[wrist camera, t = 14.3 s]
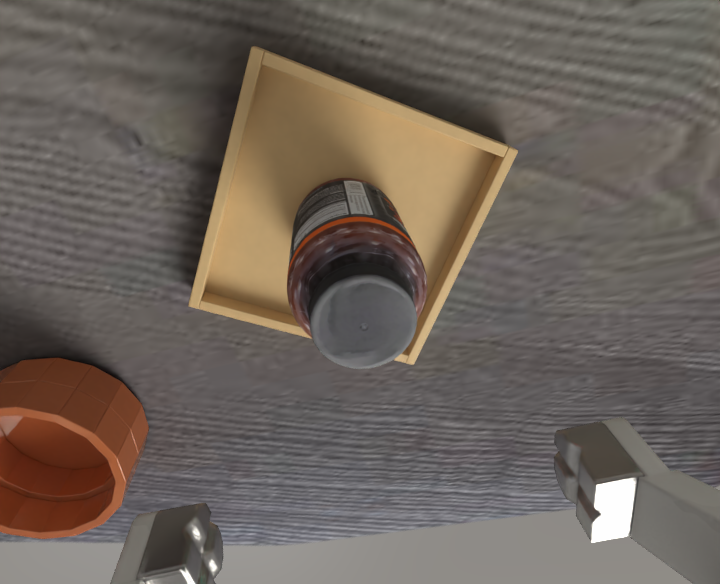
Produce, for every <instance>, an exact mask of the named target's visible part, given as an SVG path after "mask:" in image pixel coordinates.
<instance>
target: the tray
mask: <svg viewBox="0 0 720 584" xmlns="http://www.w3.org/2000/svg"><path fill="white" fill-rule="evenodd" d="M517 153H518V150H516V149H514V148H513V147H511V146H509V145H507V144H504V143H502V142H499V141H497V140H494V139H491V138H489V137H486V136H484V135H481V134H479V133H476V132H474V131H471V130H469V129H466V128H463V127H461V126H458V125H456V124H453V123H451V122H448V121H446V120H443V119H441V118H438V117H435V116H433V115H430V114H428V113H425V112H423V111H420V110H418V109H415V108H413V107H410V106H407V105H405V104H402V103H400V102H397V101H395V100H392V99H390V98H387V97H385V96H382V95H379V94H377V93H374V92H372V91H369V90H367V89H364V88H362V87H359V86H357V85H354V84H351V83H349V82H346V81H344V80H341V79H339V78H336V77H334V76H331V75H328V74H326V73H323V72H321V71H318V70H316V69H313V68H311V67H308V66H306V65H303V64H300V63H298V62H295V61H293V60H290V59H288V58H285V57H283V56H280V55H278V54H275V53H272V52H270V51H267V50H265V49H262V48H260V47H257V46H252V47H251V50H250V54H249V58H248V63H247V67H246V71H245V75H244V79H243V83H242V87H241V91H240V95H239V99H238V104H237V108H236V112H235V116H234V120H233V124H232V128H231V132H230V136H229V140H228V144H227V149H226V153H225V157H224V161H223V165H222V169H221V173H220V177H219V181H218V185H217V190H216V194H215V198H214V202H213V206H212V210H211V214H210V218H209V222H208V226H207V231H206V235H205V239H204V243H203V247H202V251H201V255H200V259H199V263H198V267H197V271H196V276H195V280H194V284H193V288H192V292H191V296H190V300H189V304H188V306H189V307H193V308H197V309H198V308H199V309H201V310H204V311H208V312H212V313H216V314H220V315H224V316H227V317H231V318H235V319H239V320H243V321H247V322H250V323H254V324H258V325H262V326H266V327H270V328H273V329H277V330H281V331H285V332H289V333H292V334H296V335H300V336H304V337H308V338H311V337H310V336H309V335H308V334H306V333H305V332H304V331H303V329H302V328H301V327H300V326H299V325H298V323H297V322H296V320H295V318H294V316H293V314H292V311H291V309H290V306H289V302H288V296H287V274H288V267H289V256H290V248H291V240H292V232H293V224H294V220H295V217H296V213H297V211H298V208H299V205H300V204H301V203H302V201H303V199H304V198H305V197H306V196H307V195H308V194H309V193H310V192H311V191H312V190H313V189H314V188H316V187H317V186H319V185H320V184H322V183H325V182H327V181H329V180H333V179H337V178H355V179H360V180H364V181H366V182H369V183H371V184H373V185H374V186H376V187H377V188H379V189H380V190H381V191H382V192H383V193H384V194H385V195H386V196H387V197H388V198H389V200H390V201H391V202H392V204H393V205H394V207H395V208H396V210H397V212H398V214H399V216H400V218H401V220H402V222H403V224H404V227H405V228H406V230H407V232H408V234H409V236H410V237H411V239H412V241H413V243H414V245H415V247H416V249H417V251H418V253H419V255H420V257H421V259H422V262H423V264H424V268H425V271H426V274H427V296H426V300H425V303H424V305H423V309H422V311H421V313H420V315H419V317H418V318H417V326H416V331H415V334H414V337H413V339H412V341H411V343H410V344H409V346H408V347H407V348H406V349H405V350H404V351H403V353H401V354H400V355H399V356H398V357H396V358H395V359H394V360H396V361H400V362H403V363H408V364H412V365H414V363H415V361H416V359H417V357H418V355H419V353H420V351H421V349H422V347H423V345H424V343H425V341H426V339H427V336H428V334H429V332H430V330H431V328H432V326H433V324H434V322H435V320H436V318H437V316H438V314H439V312H440V310H441V308H442V306H443V304H444V302H445V300H446V298H447V296H448V294H449V292H450V289H451V287H452V285H453V283H454V281H455V279H456V277H457V275H458V273H459V271H460V269H461V267H462V265H463V263H464V261H465V259H466V257H467V255H468V253H469V251H470V249H471V247H472V245H473V242H474V240H475V238H476V236H477V234H478V232H479V230H480V228H481V226H482V224H483V222H484V220H485V218H486V216H487V214H488V212H489V210H490V208H491V206H492V204H493V202H494V200H495V198H496V196H497V193H498V191H499V189H500V187H501V185H502V183H503V181H504V179H505V177H506V175H507V173H508V171H509V169H510V167H511V165H512V163H513V161H514V159H515V157H516V155H517Z"/></svg>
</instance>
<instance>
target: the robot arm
mask: <svg viewBox="0 0 720 584" xmlns="http://www.w3.org/2000/svg"><path fill="white" fill-rule="evenodd" d="M554 443H555V445H556V447H557V448H558V450H559V451H558V453H557V454H556V455H555V457H554V469H555V473H556V477H557V481H558V483H559V485H560V488H561V490H562V492H563V494H564V495H565V497H566V499H568V500H569V501H571V502H572V503H574V504H576V505H577V507H576V516H577V518H578V520H579V522H580V524H581V525H582V527H583V529H584V530H585V532H586V534H587V535H588V537H589V539H590V541H591V542H598V541H604V540H609V539H615V538H621V537H626V536H631V539H633V540H634V541H635V542H637V543H638V544H639V545H641V546H642V547H644V548H645V549H646V550H648V551H649V552H650V553H652V554H653V555H655V556H656V557H657V558H659V559H660V560H661V561H663V562H664V563H666V564H667V565H668V566H670V567H671V568H672V569H674V570H675V571H676V572H678V573H679V574H680V575H682V576H683V577H684V578H686V579H687V580H689V581H690V582H691V583H693V584H720V490H718V489H715V488H713V487H711V486H709V485H707V484H705V483H703V482H701V481H699V480H697V479H695V478H693V477H691V476H689V475H687V474H684V473H682V472H680V471H678V470H674V471H670V470H669V469H668V468H667V467H666V465H665V464H664V463H663V462H662V461H661V460H660V458H659V457H658V456H657V455H656V454H655V453H654V451H653V450H652V449H651V448H650V447H649V446H648V444H647V443H646V442H645V441H644V440H643V439H642V437H641V436H640V435H639V434H638V433H637V432H636V430H635V429H634V428H633V427H632V426H631V425H630V423H629V422H628V421H627V420H626V419H624V418H622V417H619V418H615V419H610V420H605V421H600V422H594V423H590V424H585V425H580V426H576V427H571V428H567V429H562V430H557V431H556V433H555V439H554ZM210 516H211V511H210V510H209V508H208V506H207V504H206V503H200V504H194V505H188V506H183V507H177V508H171V509H166V510H160V511H156V512H150V513H145V514H139V515H138V516H137V517H136V518H135V519H134V520H133V522H132V525H131V528H130V530H129V533H128V536H127V539H126V541H125V544H124V547H123V550H122V552H121V555H120V558H119V561H118V564H117V567H116V569H115V572H114V575H113V577H112V580H111V583H110V584H215V582H214V578H215V577H216V576H217V574H218V573H219V572H220V570H221V568H222V561H223V541H222V537H221V533H220V531H219V528H218V526H217V525H215V524H213V523H212V522H210Z"/></svg>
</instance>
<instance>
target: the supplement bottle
mask: <svg viewBox="0 0 720 584" xmlns="http://www.w3.org/2000/svg"><path fill="white" fill-rule="evenodd" d="M287 296H288V302H289V306H290V309H291V311H292V314H293V316H294V318H295V320H296V322H297V323H298V325H299V326H300V327H301V328H302V329H303V331H304V332H305V333H306V334H308V335H309V336H310V337H311V338H312V339H313V341H314V343H315V345H316V346H317V348H318V349H319V351H320V352H321V353H322V354H323V355H324V356H325V357H326V358H328V359H330V360H331V361H332V362H334V363H337V364H338V365H341V366H345V367H348V368H354V369H367V368H374V367H377V366H380V365H383V364H385V363H388V362H390V361H392V360H394V359H395V358H396V357H398V356H399V355H400V354H401V353H403V351H404V350H405V349H406V348H407V347H408V346H409V344H410V343H411V341H412V339H413V337H414V334H415V331H416V326H417V318H418V317H419V315H420V313H421V311H422V309H423V305H424V303H425V300H426V296H427V274H426V271H425V268H424V264H423V262H422V259H421V257H420V255H419V253H418V251H417V249H416V247H415V245H414V243H413V241H412V239H411V237H410V236H409V234H408V232H407V230H406V228H405V227H404V224H403V222H402V220H401V218H400V216H399V214H398V212H397V210H396V208H395V207H394V205H393V204H392V202H391V201H390V200H389V198H388V197H387V196H386V195H385V194H384V193H383V192H382V191H381V190H380V189H379V188H377V187H376V186H374V185H373V184H371V183H369V182H366V181H364V180H360V179H355V178H337V179H333V180H329V181H327V182H325V183H322V184H320V185H319V186H317V187H316V188H314V189H313V190H312V191H311V192H310V193H309V194H308V195H307V196H306V197H305V198H304V199H303V201H302V203H301V204H300V205H299V208H298V211H297V213H296V217H295V220H294V224H293V232H292V240H291V248H290V256H289V267H288V274H287Z"/></svg>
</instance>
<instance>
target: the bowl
mask: <svg viewBox="0 0 720 584" xmlns="http://www.w3.org/2000/svg"><path fill="white" fill-rule="evenodd" d="M148 431H149V427H148V423H147V420H146V417H145V414H144V410H143V407H142V405H141V403H140V402H139V400H138V399H137V398H136V397H135V396H134V395H133V394H132V393H131V391H130V390H129V389H128V388H127V387H126V386H125V385H124V383H123V382H121V381H119V380H118V379H116V378H114V377H112V376H110V375H109V374H107V373H105V372H103V371H102V370H100V369H98V368H96V367H94V366H92V365H89V364H84V363H80V362H75V361H71V360H66V359H62V358H44V359H31V360H23V361H20V362H18V363H15V364H13V365H11V366H9V367H7V368H5V369H3V370H1V371H0V532H3V533H6V534H11V535H18V536H25V537H32V538H39V539H41V538H42V539H48V538H58V537H68V536H75V535H78V534H80V533H83V532H85V531H88V530H90V529H92V528H95V527H97V526H99V525H102V524H104V523H105V522H106V521H107V520H108V518H109V517H110V516H111V515H112V514H113V513H114V512H115V511H116V510H117V509H118V508H119V507H120V506H121V504H122V502H123V499H124V497H125V495H126V492H127V490H128V487H129V485H130V483H131V480H132V478H133V475H134V473H135V470H136V468H137V466H138V463H139V461H140V458H141V456H142V454H143V451H144V448H145V444H146V439H147V435H148Z"/></svg>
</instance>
